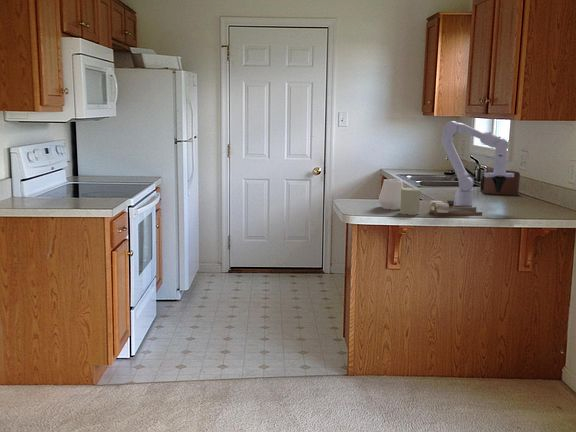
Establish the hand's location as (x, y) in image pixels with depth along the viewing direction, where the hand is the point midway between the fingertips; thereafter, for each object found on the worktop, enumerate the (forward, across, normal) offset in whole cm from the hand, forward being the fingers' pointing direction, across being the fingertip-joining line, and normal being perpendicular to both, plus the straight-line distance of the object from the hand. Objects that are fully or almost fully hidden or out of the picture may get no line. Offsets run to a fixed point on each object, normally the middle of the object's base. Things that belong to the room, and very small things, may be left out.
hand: (497, 191), depth 316 cm
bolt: (+8, -31, -6) cm, 32 cm away
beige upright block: (+10, -46, -3) cm, 47 cm away
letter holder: (+10, +31, +56) cm, 65 cm away
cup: (+10, -50, +11) cm, 52 cm away
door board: (+9, -24, -6) cm, 26 cm away
